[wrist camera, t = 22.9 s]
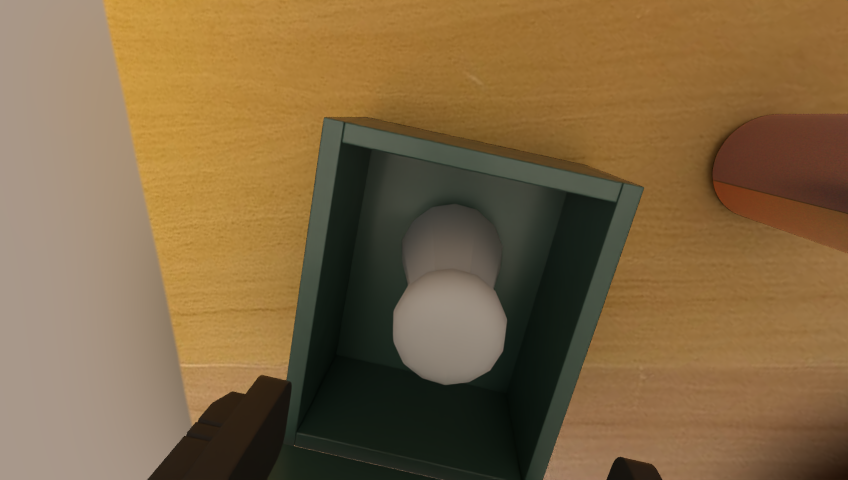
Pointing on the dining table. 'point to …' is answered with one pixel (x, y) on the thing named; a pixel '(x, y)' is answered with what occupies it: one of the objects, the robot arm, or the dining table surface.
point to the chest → (386, 282)
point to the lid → (331, 467)
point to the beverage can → (789, 175)
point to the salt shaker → (450, 296)
